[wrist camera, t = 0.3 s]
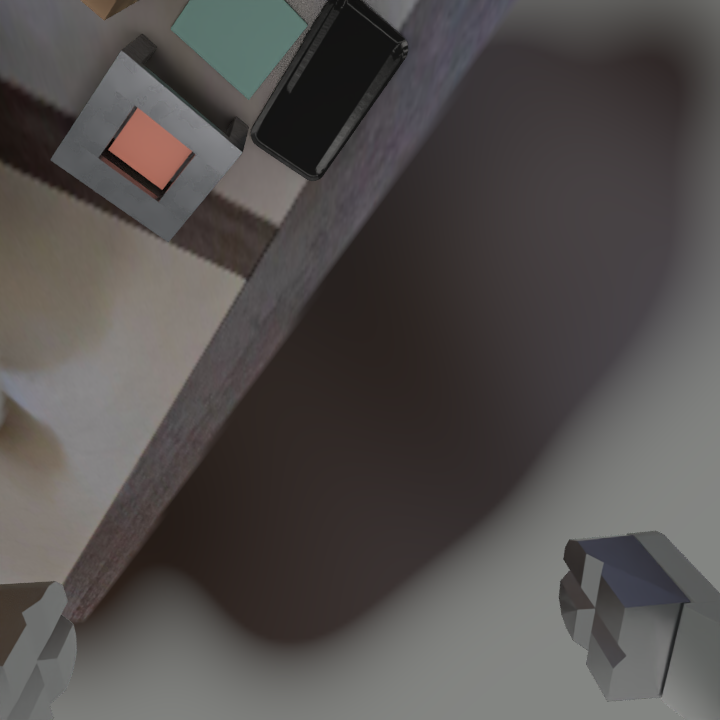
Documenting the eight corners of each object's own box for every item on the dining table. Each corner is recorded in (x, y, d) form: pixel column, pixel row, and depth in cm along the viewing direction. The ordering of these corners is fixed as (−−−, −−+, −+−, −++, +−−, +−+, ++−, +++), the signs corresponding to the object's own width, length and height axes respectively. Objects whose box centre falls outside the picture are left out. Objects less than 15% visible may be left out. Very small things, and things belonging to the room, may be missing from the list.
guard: (142, 33, 47) (121, 50, 42) (248, 127, 53) (242, 152, 47) (76, 133, 52) (50, 160, 46) (181, 210, 57) (168, 242, 52)
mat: (229, -58, 44) (228, -58, 44) (307, 24, 48) (307, 25, 48) (171, 28, 47) (170, 29, 47) (249, 98, 51) (248, 99, 51)
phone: (413, 46, 49) (316, 185, 56) (411, 44, 50) (316, 181, 57) (339, -19, 46) (245, 138, 53) (338, -20, 47) (246, 134, 54)
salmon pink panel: (147, 95, 48) (141, 102, 46) (199, 138, 50) (196, 146, 49) (114, 141, 50) (108, 149, 48) (166, 180, 52) (162, 190, 51)
